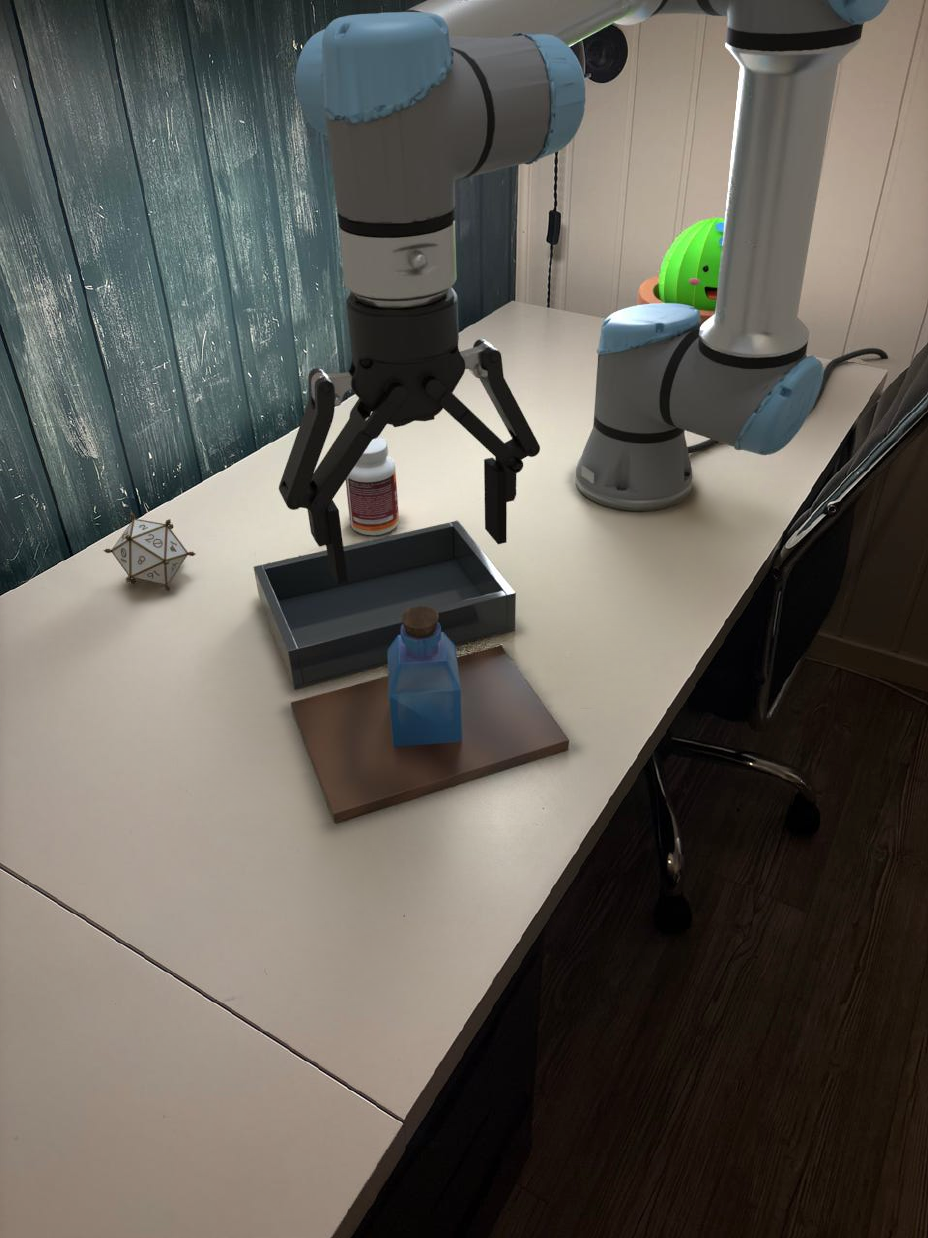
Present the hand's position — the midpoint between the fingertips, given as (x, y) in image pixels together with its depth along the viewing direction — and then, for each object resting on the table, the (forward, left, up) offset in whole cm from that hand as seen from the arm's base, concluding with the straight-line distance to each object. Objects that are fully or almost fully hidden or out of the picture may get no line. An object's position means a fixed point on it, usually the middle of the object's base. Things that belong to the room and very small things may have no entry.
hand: (419, 554), depth 74 cm
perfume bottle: (0, 0, -18) cm, 18 cm away
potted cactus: (-71, -61, -19) cm, 96 cm away
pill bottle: (-7, -37, -19) cm, 43 cm away
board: (0, 0, -19) cm, 19 cm away
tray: (-2, -18, -19) cm, 27 cm away
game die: (+20, -35, -19) cm, 45 cm away
